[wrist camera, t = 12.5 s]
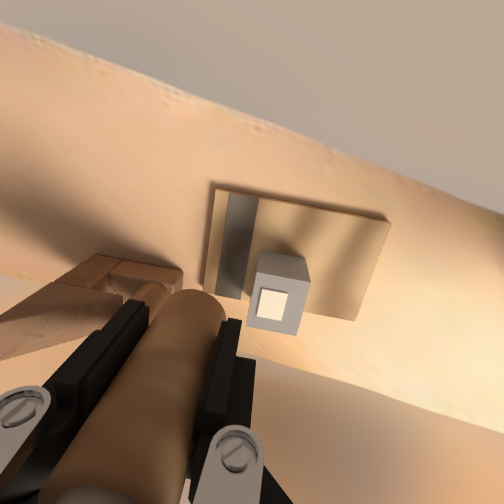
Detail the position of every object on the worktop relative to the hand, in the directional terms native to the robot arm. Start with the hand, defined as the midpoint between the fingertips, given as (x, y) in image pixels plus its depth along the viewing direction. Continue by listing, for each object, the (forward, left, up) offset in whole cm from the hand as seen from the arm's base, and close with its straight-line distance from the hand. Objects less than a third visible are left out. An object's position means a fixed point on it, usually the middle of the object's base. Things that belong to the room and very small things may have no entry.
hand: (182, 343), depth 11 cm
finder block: (-5, +7, -20) cm, 22 cm away
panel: (-6, +4, -21) cm, 23 cm away
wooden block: (+11, +10, -22) cm, 26 cm away
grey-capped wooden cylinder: (0, 0, -2) cm, 2 cm away
